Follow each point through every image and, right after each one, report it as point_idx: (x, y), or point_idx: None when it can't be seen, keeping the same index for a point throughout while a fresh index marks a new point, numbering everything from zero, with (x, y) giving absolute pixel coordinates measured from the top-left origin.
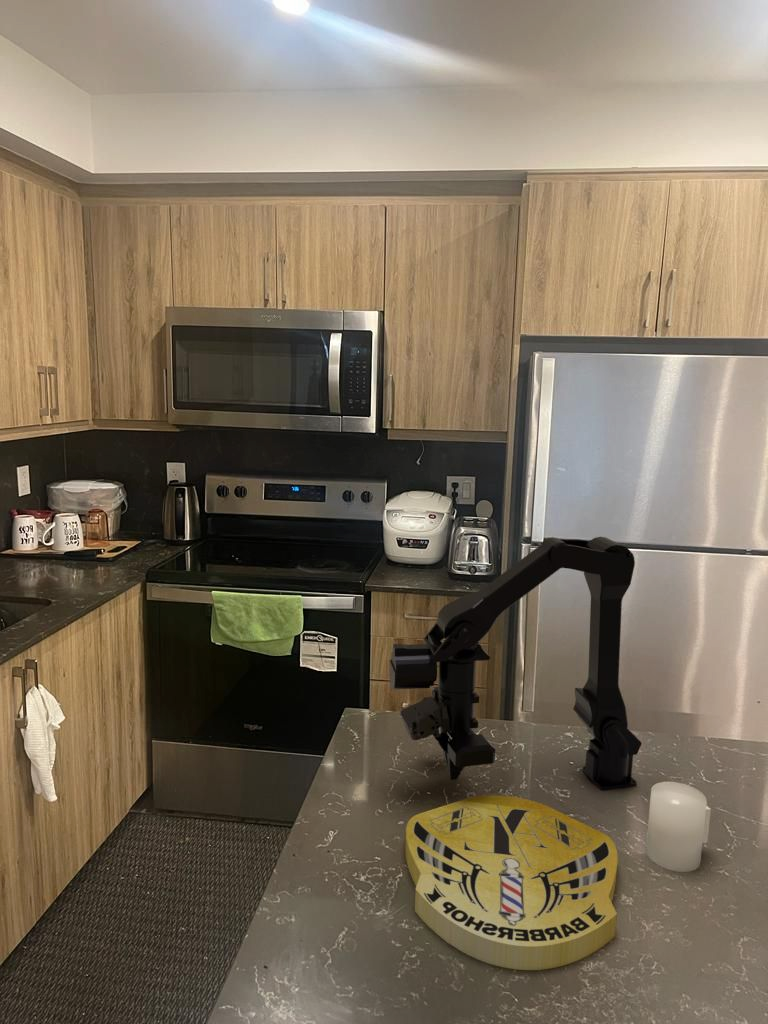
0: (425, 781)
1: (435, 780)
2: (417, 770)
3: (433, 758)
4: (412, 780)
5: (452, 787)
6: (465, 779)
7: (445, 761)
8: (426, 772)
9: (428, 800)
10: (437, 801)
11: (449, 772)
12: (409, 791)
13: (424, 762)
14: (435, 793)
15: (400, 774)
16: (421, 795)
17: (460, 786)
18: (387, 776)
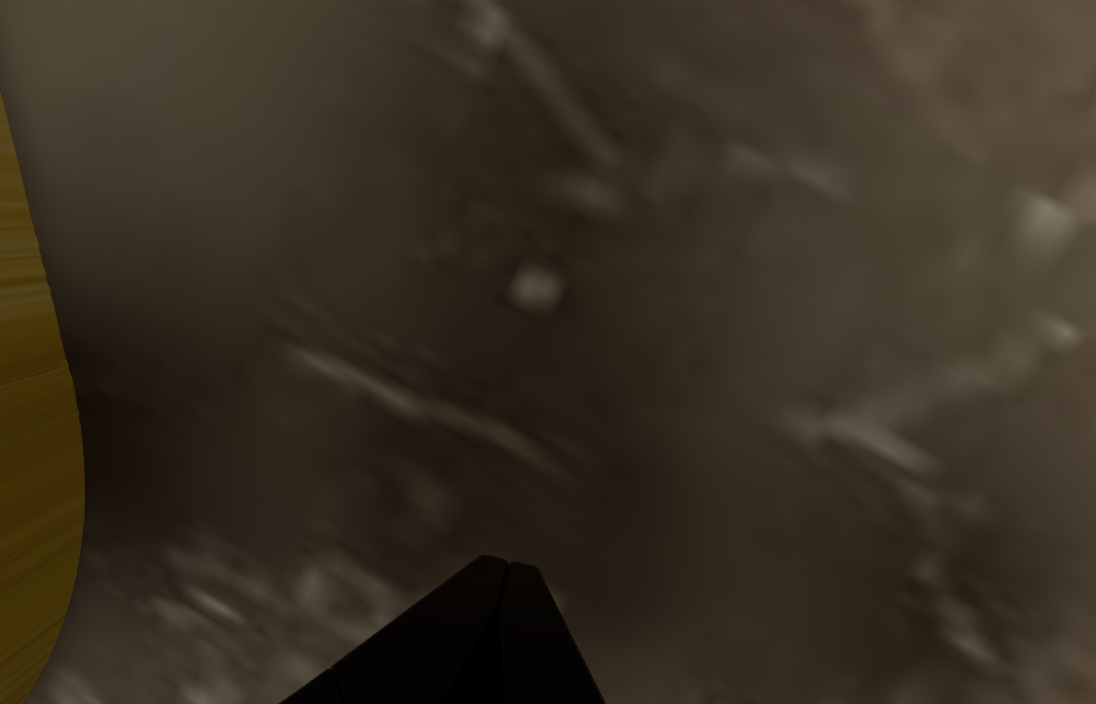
0: (734, 364)
1: (702, 460)
2: (967, 396)
3: (1074, 651)
4: (820, 249)
5: (524, 533)
6: None
7: (582, 675)
8: (880, 458)
9: (413, 216)
10: (367, 289)
11: (464, 593)
12: (642, 110)
13: (1063, 538)
14: (497, 342)
15: (1003, 183)
16: (521, 195)
17: None
18: (1056, 11)
